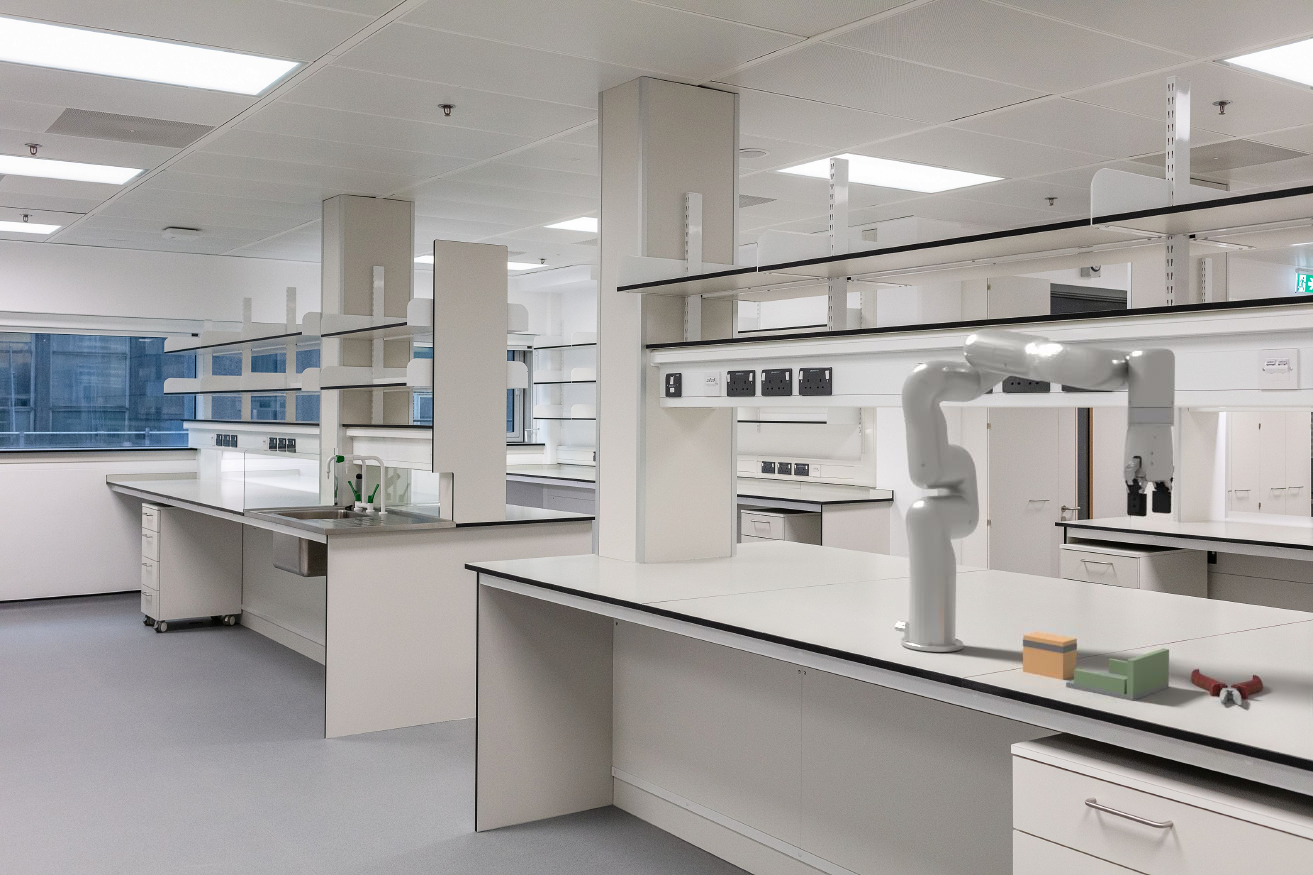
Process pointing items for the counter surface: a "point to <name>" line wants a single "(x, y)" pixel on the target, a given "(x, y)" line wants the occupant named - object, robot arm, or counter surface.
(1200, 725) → the counter surface
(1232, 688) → the pliers
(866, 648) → the counter surface
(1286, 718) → the counter surface
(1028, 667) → the chute block
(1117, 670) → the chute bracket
